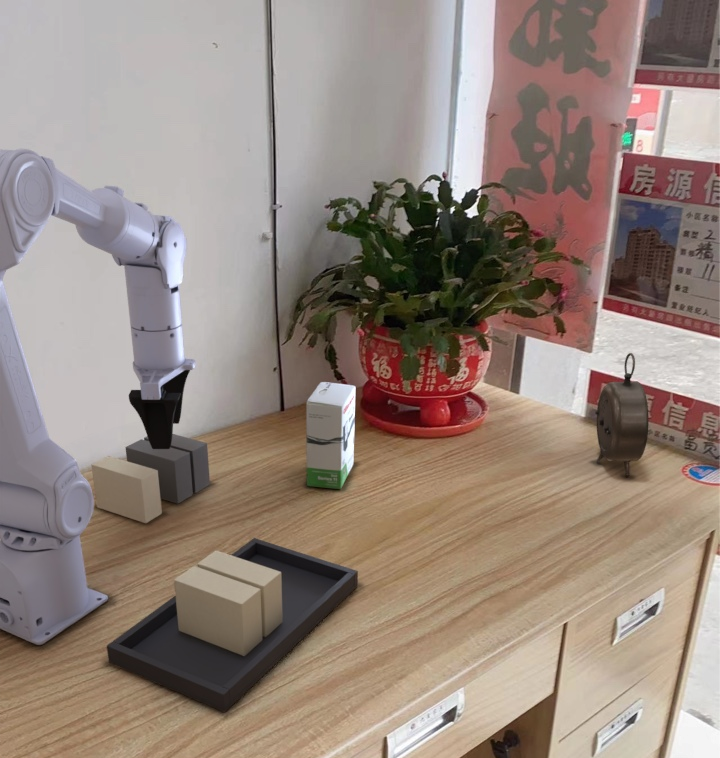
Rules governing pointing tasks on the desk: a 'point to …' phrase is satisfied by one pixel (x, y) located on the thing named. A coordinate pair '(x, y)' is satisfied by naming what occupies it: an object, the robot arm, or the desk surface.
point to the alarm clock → (622, 420)
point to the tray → (221, 666)
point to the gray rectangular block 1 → (165, 469)
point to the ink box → (330, 434)
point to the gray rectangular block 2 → (194, 459)
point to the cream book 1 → (219, 610)
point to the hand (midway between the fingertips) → (166, 434)
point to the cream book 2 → (251, 584)
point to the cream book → (127, 489)
